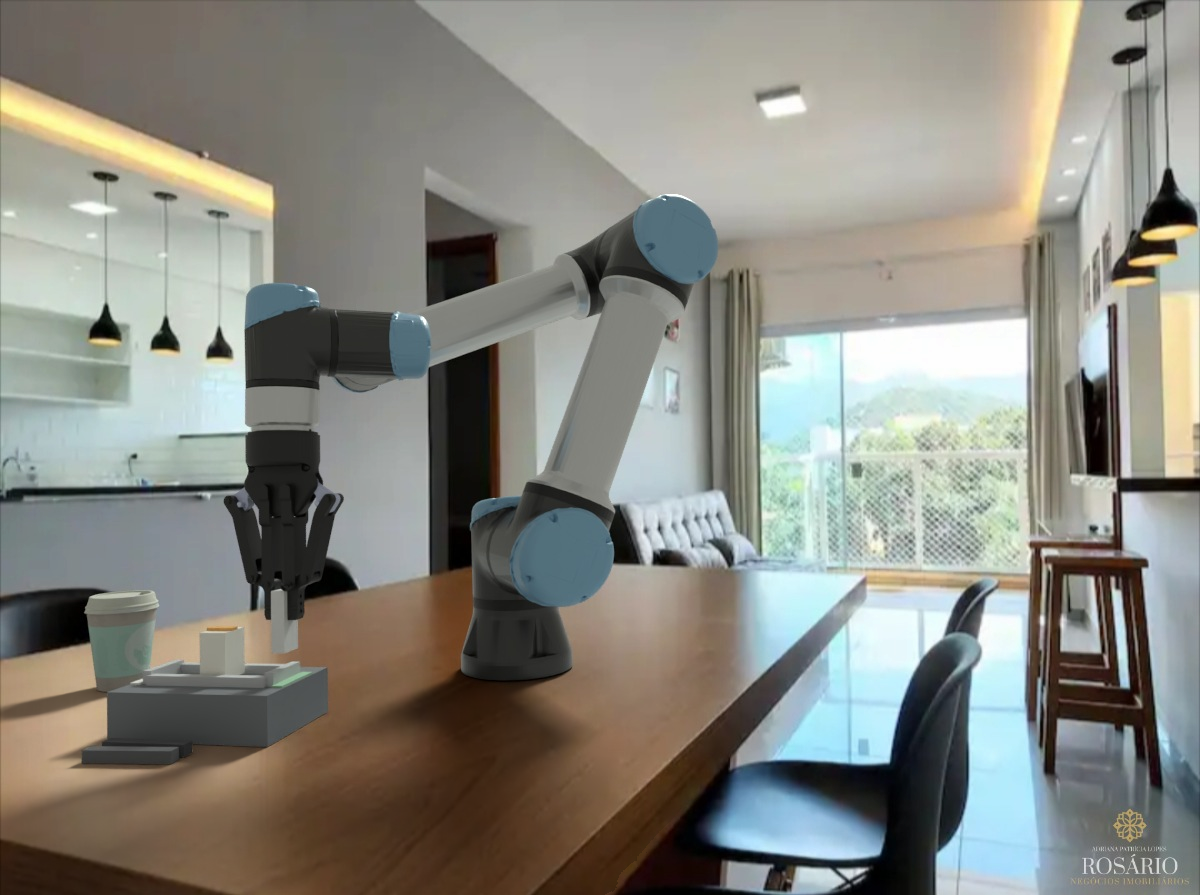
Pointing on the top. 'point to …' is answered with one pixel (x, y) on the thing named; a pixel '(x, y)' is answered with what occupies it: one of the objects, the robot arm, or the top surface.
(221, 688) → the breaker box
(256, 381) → the robot arm
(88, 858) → the top surface
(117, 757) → the dark gray bar
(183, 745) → the dark grey long bar
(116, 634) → the coffee cup
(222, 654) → the white upright block
